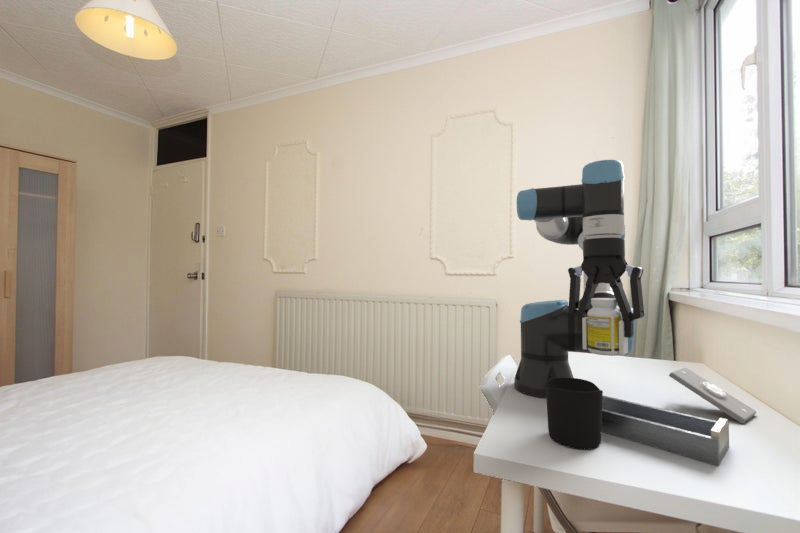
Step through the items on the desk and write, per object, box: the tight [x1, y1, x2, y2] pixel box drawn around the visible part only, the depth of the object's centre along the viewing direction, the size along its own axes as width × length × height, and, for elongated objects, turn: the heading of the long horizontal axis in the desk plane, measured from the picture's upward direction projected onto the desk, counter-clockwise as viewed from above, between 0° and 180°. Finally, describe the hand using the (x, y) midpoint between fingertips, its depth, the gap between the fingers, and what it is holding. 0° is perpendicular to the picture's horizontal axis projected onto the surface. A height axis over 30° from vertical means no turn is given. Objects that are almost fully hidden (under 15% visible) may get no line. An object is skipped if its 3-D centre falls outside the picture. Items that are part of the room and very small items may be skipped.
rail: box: [601, 395, 730, 467], centre depth 69 cm, size 21×10×5 cm, turn 41°
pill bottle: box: [587, 298, 622, 357], centre depth 76 cm, size 6×6×11 cm
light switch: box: [668, 367, 757, 425], centre depth 83 cm, size 8×6×14 cm
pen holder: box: [545, 377, 604, 450], centre depth 68 cm, size 9×9×10 cm
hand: (604, 350), depth 76 cm, fingers closed on pill bottle, 6 cm apart
